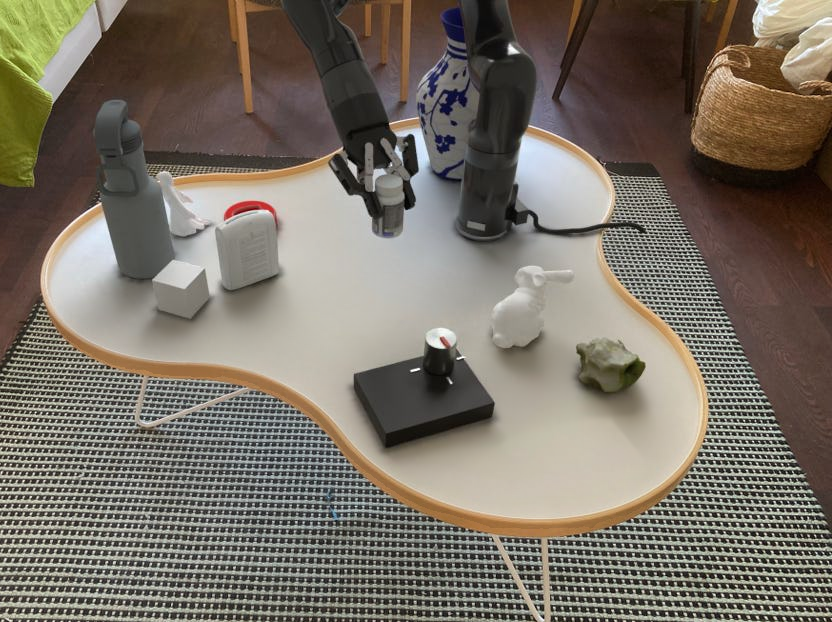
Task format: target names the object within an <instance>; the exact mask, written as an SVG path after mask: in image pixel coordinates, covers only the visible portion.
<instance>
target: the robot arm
mask: <svg viewBox="0 0 832 622" xmlns="http://www.w3.org/2000/svg"><path fill="white" fill-rule="evenodd" d="M456 1H457V5H458V7H460V11H461V15H462V20H463V26H464V34H465V43H466V53H467V64H468V72H469V76H470V79H471V82H472V84H473V85H474V87H475V89H476V90H477V91H478V93H479V94H480V95H479V104H478V110H477V117H476V118H475V119H473V120H472V121H471V122H470V123H469V125H468V130H467V138H466V147H465V156H464V165H463V173H462V181H460V182H461V183H460V192H459V202H458V208H457V209H458V211H457V216H456V224H455V227H456V230H457V232H458V233H459V234H460V235H462V236H463V237H465V238H467V239H470V240H473V241H477V242H492V241H497V240H499V239H501V238H503V237H504V236H505V235H506V234H507V233H509V232H512V228H513V224H514V226H519V225H524V224H527V222H528V217H529V216H530V217H532V219H533V220H532V222H533V223H532V225H533V227H534V228H535V229H536V230H538V231H539V232H541V233H546V234H550V235H569V234H583V233H589V232H593V231H597V230H601V229H613V228H614V229H615V228H616V229H617V228H633V229H635V230H637V231H638V232H639V233H641V234H647V230H646V229H645V228H644V227H643V226H642V225H641V224H639V223H636V222H632V221H619V222H603V223H598V224H594V225H590V226H585V227H577V228H575V227H573V228H572V227H571V228H560V229H559V228H558V229H553V228H551V229H550V228H546V227H544V226H542V225H541V224H540V223H539V216H538V214H537V212H535V211H534V210H532V209H529V208H528V206H526V205H525V204H524V203H523V202H522V201H521V200H520V199H519V198H518V193H519V183H517V182H516V177H517V170H518V166H519V165H518V163H519V159H520V153H521V146H522V140H523V136H524V135H525V134H526V131H527V130H528V128H529V125H530V122H531V117H532V112H533V108H534V104H535V99H536V94H537V87H538V80H539V79H538V76H539V75H538V67H537V64H536V62H535V60H533V59H534V58H532V57H531V56H530V55H529V53H528V52H526V50H525V49H524V48H522V46H521V45H520V43H519V42H518V40H517V36H516V33H515V29H514V26H513V22H512V21H513V20H512V17H511V13H510V8H509V7H510V6H509V2H508V1H509V0H456ZM280 3H281V6H282V9H283V11H284V13H285V16H286V18H287V19H288V22H289V23H290V25H291V26H292V28H293V30H294V31H295V33H296V35H297V36H298V37H299V39H300V41H301V42H302V44H303V45H304V47H305V48H306V49H307V51H308V52H309V54H310V56H311V60H312V62H313V65H314V68H315V71H316V73H317V76H318V78H319V81H320V84H321V85H320V86H321V88H322V93H323V97H324V99H325V103H326V107H327V109H328V111H329V113H330V116H331V119H332V121H333V125H334V127H335V130H336V132H337V134H338V137H339V140H340V142H341V143H342V151H341V152H340V153H335V154H334V155H332V157H331V158H330V159H329V160H328V162H327V164H328V166H329V168H330V170H331V171H332V173H333V174H334V176H335V177H336V179H337V180H338V182H339V183H340V185H341V187H342V188H343V189H344V191H345V192H346V193H347V195H348V196H350V197H352V196H360V197H361V198H362V201H363V203H364V206H365V208H366V210H367V215H369V217H370V218H372V217H373V218H374V220H378V219H380V218H382V217H383V216H384V213H383V210H382V208H381V205H380V202H379V200H378V197H377V194H376V191H374V180H373V177H374V171H375V170H383V171H384V172H385V174H393V175H397V176H399V177H400V178H401V179H402V180H403V189H402V191H403V192H404V195H405V200H404V211H410V210H412V209H413V208H415V207H416V202H417V197H416V194H415V192H414V188H413V186H412V184H411V179H412V178H413V177H415V175H417V174H418V173H419V172H420V168H419V160H418V159H419V158H418V153H417V145H416V138H415V135H414V134H413V133H409V134H407V135H405V136H404V135H402V136H401V135H397V134H396V133H395V132H394V131H393V130H392V128H391V127H390V120H389V117H388V113H387V112H386V109H385V106H384V103H383V101H382V98H381V95H380V92H379V89H378V87H377V84H376V81H375V79H374V76H373V75H372V72H371V71H370V69H369V67H368V65H367V62H366V60H365V57H364V53H363V51H362V49H361V46H360V44H359V41H358V39H357V36H356V34H355V33H354V31H353V29H352V28H350V27H349V26H348V25H346V24H345V23H343V22H342V21H341V20H340V19H339V17H340V16H341V14H342V13H343V12H344V11H345V10H346V8H347V6H348V4H349V3H350V0H280ZM396 148H398V151H399V152H401V158H402V160H401V158H400V157H399V155H398V154H397V152H395V151H396ZM349 162H351V163H352V164H353V165H354V166H356V176H355V174H354V173H353V171H352V170H351V169H350V167H349V166H348V165H349Z"/></svg>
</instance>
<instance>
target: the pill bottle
mask: <svg viewBox="0 0 832 622" xmlns="http://www.w3.org/2000/svg"><path fill="white" fill-rule="evenodd" d="M402 189H403V180H402V179H401V178H400V177H399V176H397V175H393V174H387V173H385V174H381V175H379V176H377V177H375V179H374V189H373V192H374V191H376V194H377V197H378V200H379V202H380V205H381V208H382V210H383V213H384V216H383V217H382V218H380V219H378V220H374V218H373V217H371V231H372V233H373V234H374V235H375V236H377V237H378V238H382V239H395V238H397V237H399V236H400V235H401V234H402V233H403V231H404V219H405V208H404V200H405V195H404V192H403V191H402Z"/></svg>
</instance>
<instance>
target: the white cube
mask: <svg viewBox="0 0 832 622" xmlns="http://www.w3.org/2000/svg"><path fill="white" fill-rule="evenodd" d="M151 282H152V287H153V291H154V295H155V299H156V303H157V308H158V311H161V312H165V313H168V314H172V315H175V316H179V317H183V318H186V319H189V320H191V319H192V318H193V317H194V316H195V315H196V314H197V313H198V311H199V310H200V309H201V308H202V307H203V306H204V305H205V303H207V301H209V299H210V298H211V295H210V290H209V283H208V278H207V272H206V268H205V267H203V266H200V265H195V264H192V263H187V262H184V261H180V260H176V259H175V260H172V261H171V262H170V263H169V264H168V265H167V266H166V267H165V268H164V269H163V270H162V271H161V272H160V273H159V274H158V275H157V276H156V277H153V278H152V279H151Z"/></svg>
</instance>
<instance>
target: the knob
mask: <svg viewBox="0 0 832 622" xmlns="http://www.w3.org/2000/svg"><path fill="white" fill-rule="evenodd" d="M457 342H458V337H457V335H456V334H455V333H454V331H452V330H451V329H448V328H446V327H445V328H444V327H435V328H431V329H430V330H428V331H427V332H426V334H425V337H424V344H423V345H424V346H423V355H422V356H423V366H424V368H425V369H426V370H427V371H428V372H430V373H432V374H436V375H443V374H447V373H449V372H450V371H451V370H452V369H453V367H454V360H455V352H456V349H457V345H458V343H457Z"/></svg>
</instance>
